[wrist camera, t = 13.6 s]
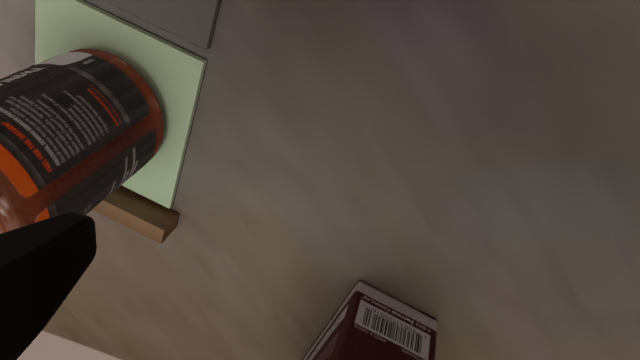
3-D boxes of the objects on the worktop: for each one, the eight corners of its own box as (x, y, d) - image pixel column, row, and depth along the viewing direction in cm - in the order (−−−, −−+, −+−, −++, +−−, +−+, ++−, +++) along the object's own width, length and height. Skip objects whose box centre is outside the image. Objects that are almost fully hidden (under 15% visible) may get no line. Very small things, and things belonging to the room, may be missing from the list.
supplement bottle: (60, 20, 21) (-277, 125, 12) (181, 81, 21) (-62, 237, 11) (55, 130, 24) (-209, 279, 15) (159, 182, 24) (-43, 366, 15)
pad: (40, -20, 20) (35, -19, 20) (207, 60, 20) (203, 62, 20) (38, 139, 25) (34, 142, 25) (172, 205, 25) (169, 208, 25)
